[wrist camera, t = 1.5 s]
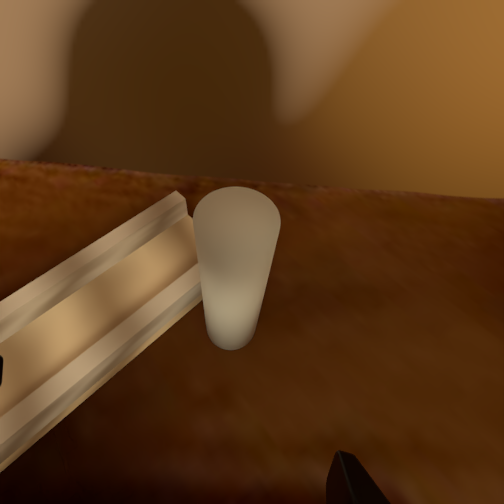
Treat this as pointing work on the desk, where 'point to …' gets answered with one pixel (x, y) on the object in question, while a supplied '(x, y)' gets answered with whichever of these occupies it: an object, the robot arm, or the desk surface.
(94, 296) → the sliding track
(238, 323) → the beige piece
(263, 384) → the desk surface
